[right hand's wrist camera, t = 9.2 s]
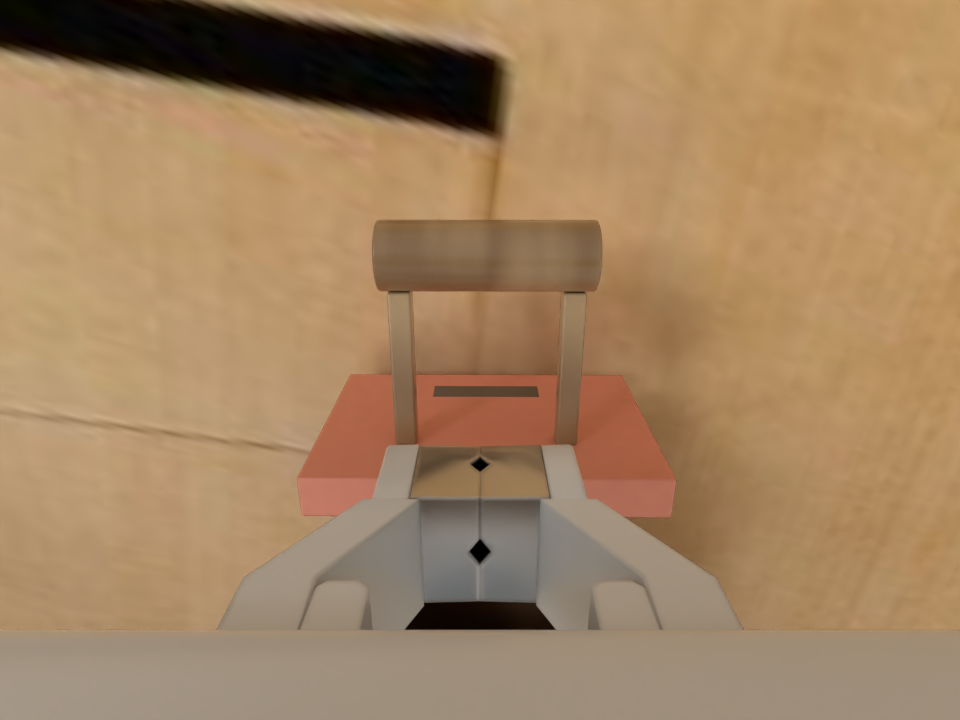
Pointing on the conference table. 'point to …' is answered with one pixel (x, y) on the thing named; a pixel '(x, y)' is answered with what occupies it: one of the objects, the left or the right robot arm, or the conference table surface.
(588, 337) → the conference table surface
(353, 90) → the conference table surface
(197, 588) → the conference table surface
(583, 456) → the drawer
